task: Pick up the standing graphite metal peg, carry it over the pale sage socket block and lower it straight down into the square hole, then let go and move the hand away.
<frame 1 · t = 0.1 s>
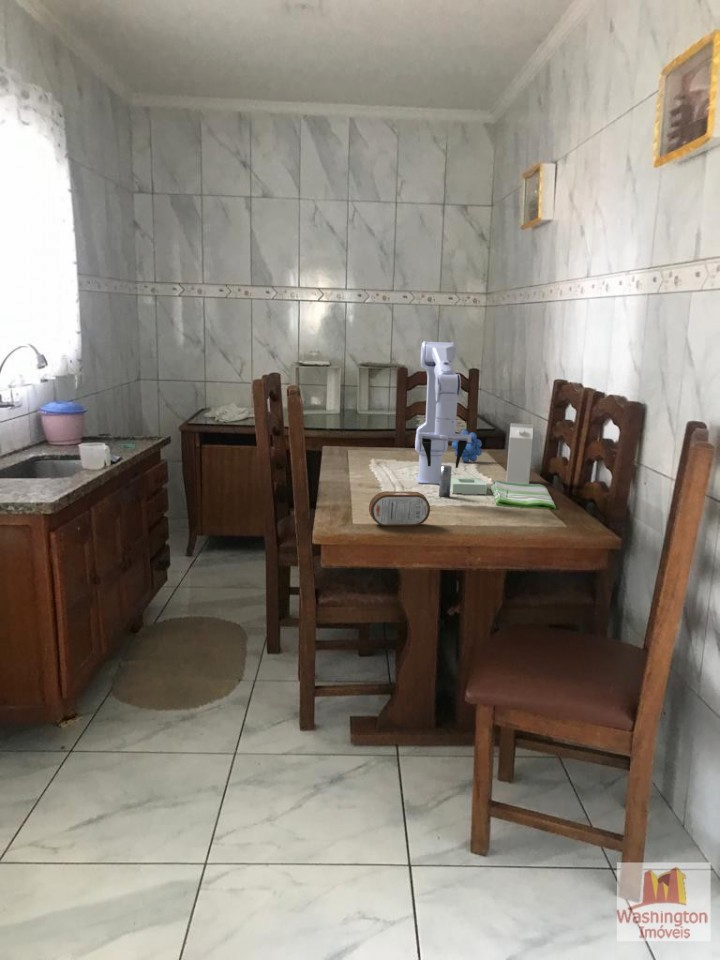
hand: (443, 466, 204), 10 cm above the table, tool pointing down, fingers open, 7 cm apart
dish towel: (522, 501, 213), on the table
peg: (444, 496, 212), on the table
tin: (399, 526, 179), on the table
milk carton: (517, 482, 236), on the table
grapes: (466, 463, 268), on the table
socket: (466, 490, 221), on the table
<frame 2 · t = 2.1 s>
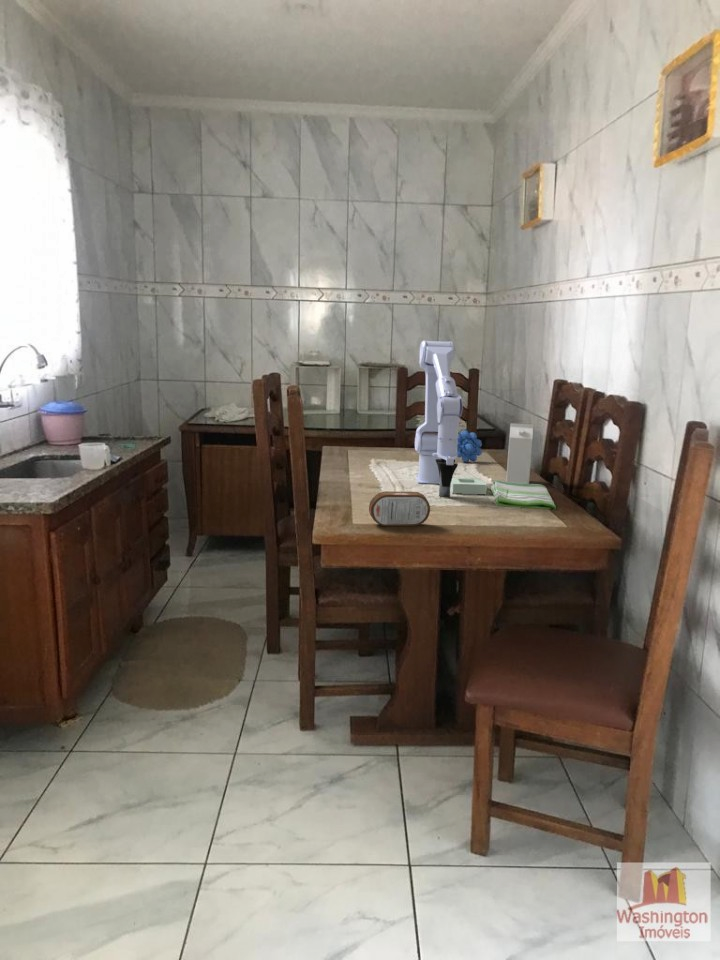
hand: (445, 485, 211), 3 cm above the table, tool pointing down, fingers closed on peg, 3 cm apart
peg: (444, 496, 212), on the table, touching gripper
everything else where it was.
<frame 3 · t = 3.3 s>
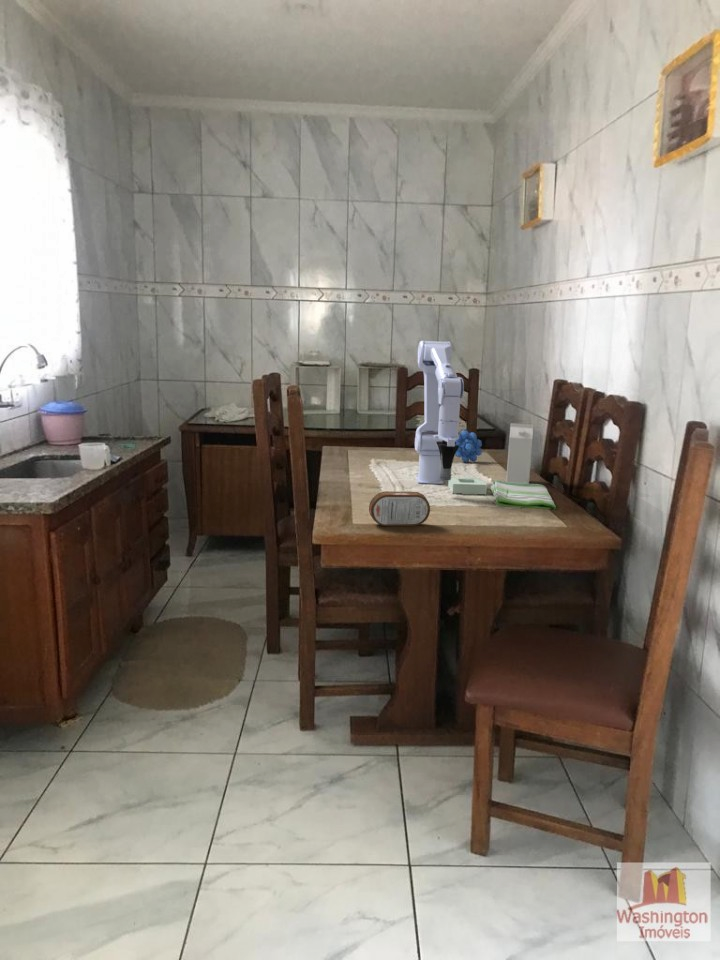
hand: (446, 467, 210), 9 cm above the table, tool pointing down, fingers closed on peg, 3 cm apart
peg: (445, 479, 211), point 5 cm above the table, touching gripper
everything else where it was.
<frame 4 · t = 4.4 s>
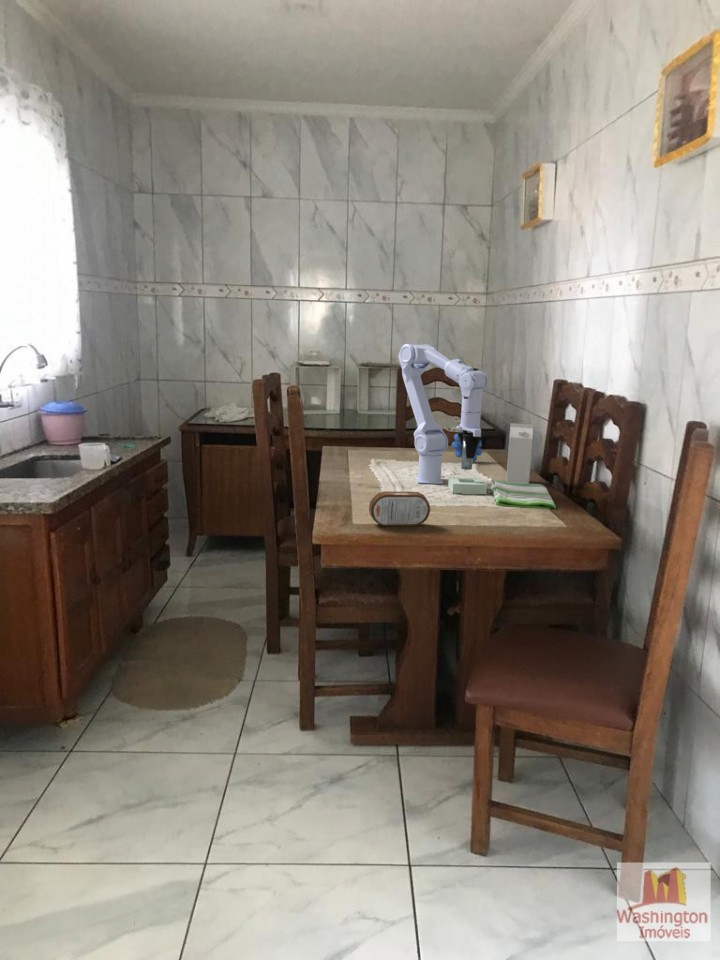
hand: (468, 457, 218), 10 cm above the table, tool pointing down, fingers closed on peg, 3 cm apart
peg: (466, 468, 219), point 7 cm above the table, touching gripper
everything else where it was.
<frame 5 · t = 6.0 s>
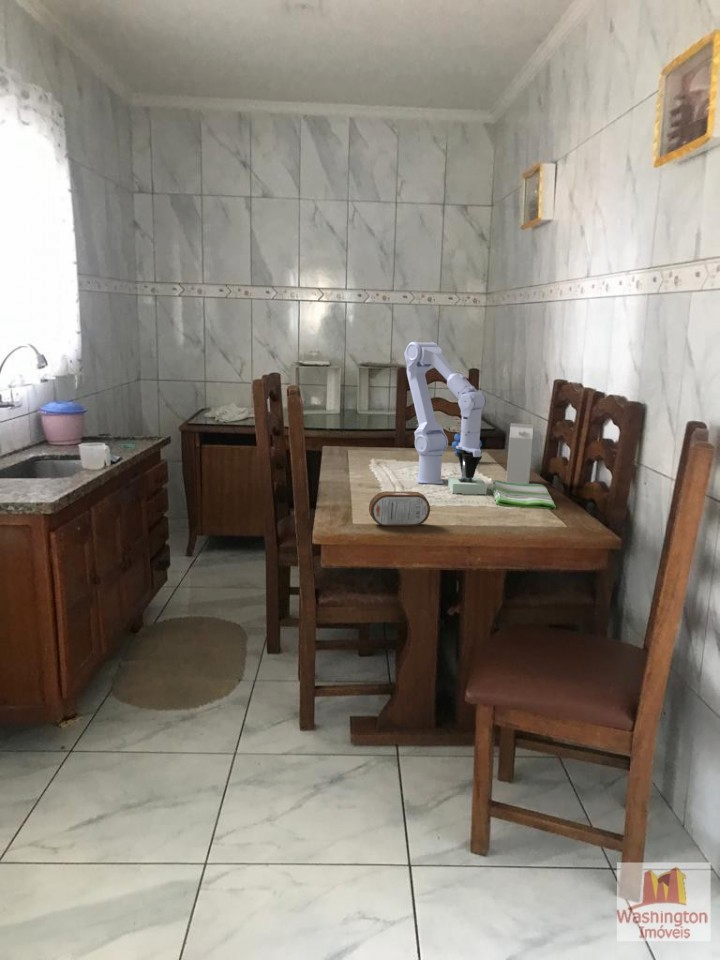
hand: (467, 476, 220), 4 cm above the table, tool pointing down, fingers closed on peg, 3 cm apart
peg: (466, 487, 220), point 1 cm above the table, touching gripper
everything else where it was.
when the fingers open (4 cm above the table, at t = 6.9 s): peg stays where it is, on the table.
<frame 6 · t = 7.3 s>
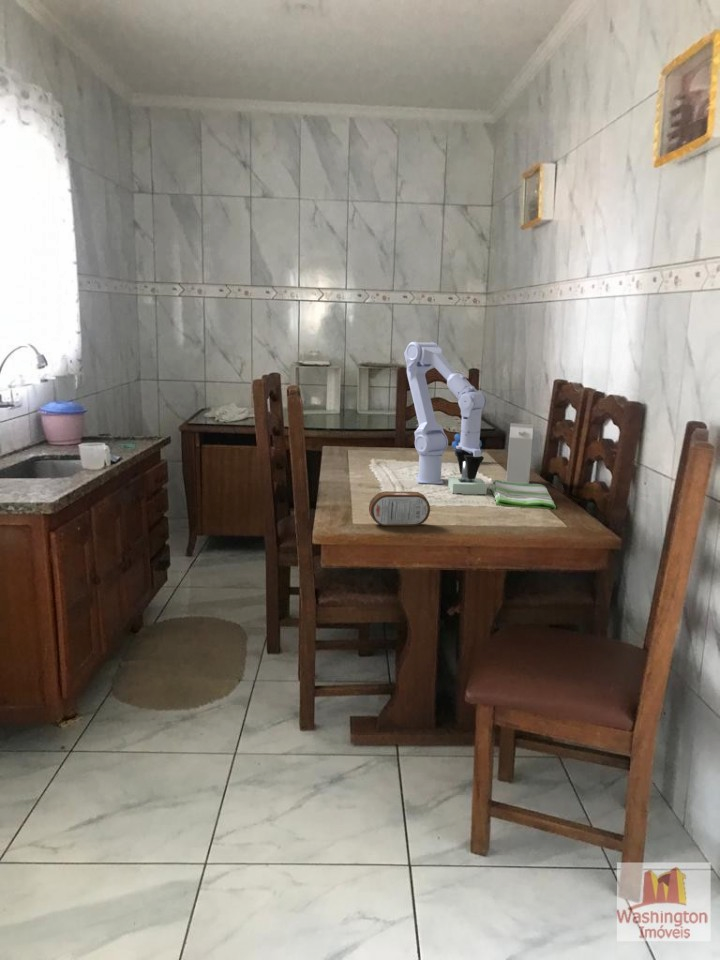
hand: (467, 476, 220), 4 cm above the table, tool pointing down, fingers open, 6 cm apart
peg: (465, 490, 221), on the table
everything else where it was.
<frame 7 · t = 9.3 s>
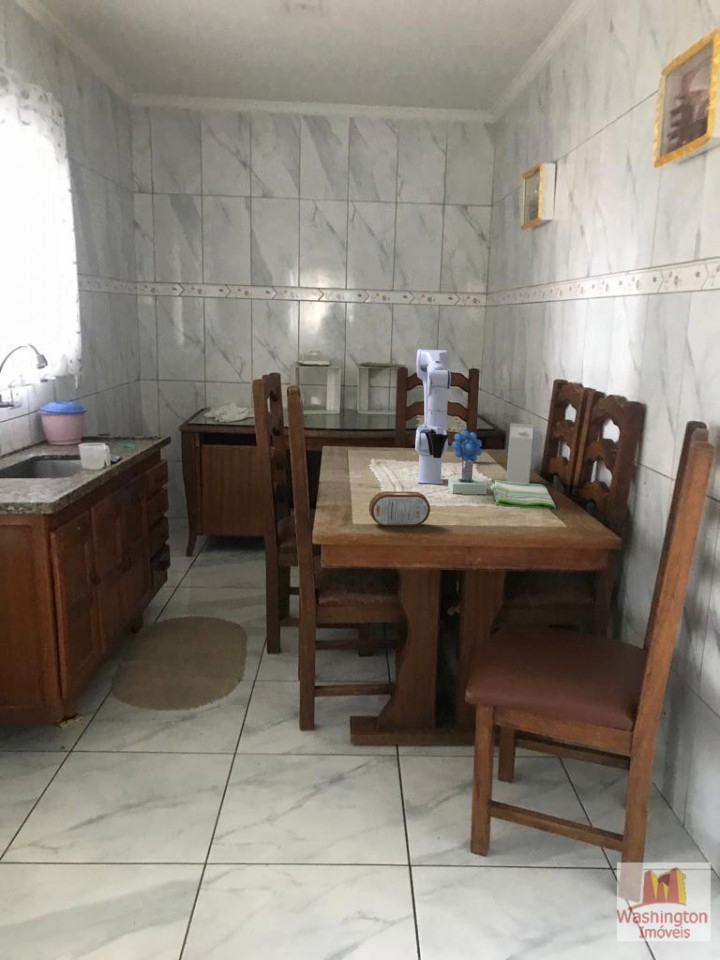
hand: (435, 456, 217), 10 cm above the table, tool pointing down, fingers open, 7 cm apart
nothing on the table moved.
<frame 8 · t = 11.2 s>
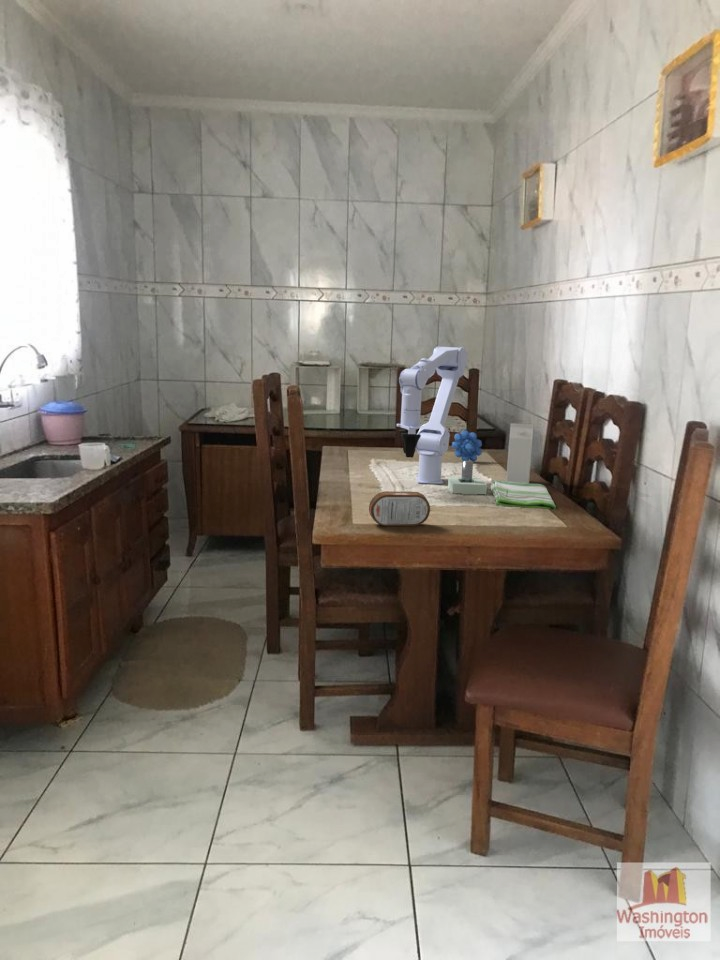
hand: (408, 455, 218), 10 cm above the table, tool pointing down, fingers open, 7 cm apart
nothing on the table moved.
at the end: peg 0.2 cm off-centre on the socket, point 0.0 cm above the socket's base; peg tilted 0°; the gripper is holding nothing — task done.
